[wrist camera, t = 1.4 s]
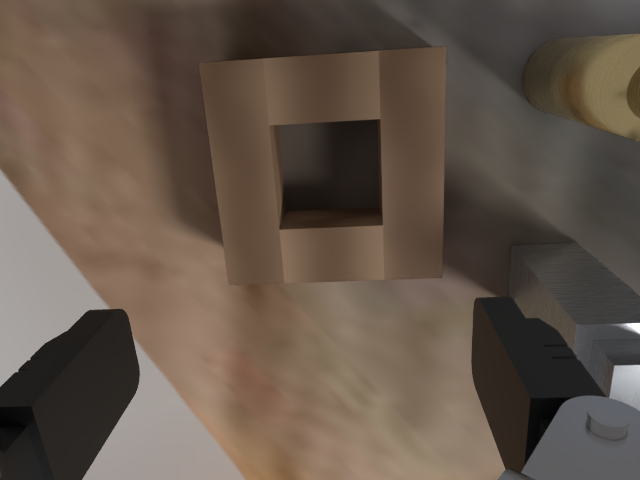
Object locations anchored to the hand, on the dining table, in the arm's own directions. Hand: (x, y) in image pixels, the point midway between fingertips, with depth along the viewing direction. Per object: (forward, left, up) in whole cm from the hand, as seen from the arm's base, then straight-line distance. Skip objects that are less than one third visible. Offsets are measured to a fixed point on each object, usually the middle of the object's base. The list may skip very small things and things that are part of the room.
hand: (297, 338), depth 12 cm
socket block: (0, 0, -21) cm, 21 cm away
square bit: (-13, +8, -21) cm, 26 cm away
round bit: (-13, -4, -21) cm, 25 cm away
